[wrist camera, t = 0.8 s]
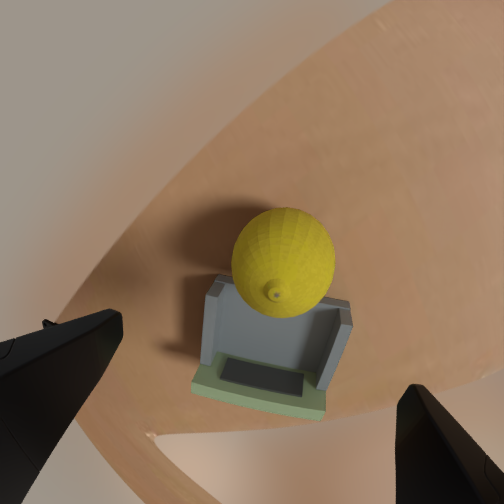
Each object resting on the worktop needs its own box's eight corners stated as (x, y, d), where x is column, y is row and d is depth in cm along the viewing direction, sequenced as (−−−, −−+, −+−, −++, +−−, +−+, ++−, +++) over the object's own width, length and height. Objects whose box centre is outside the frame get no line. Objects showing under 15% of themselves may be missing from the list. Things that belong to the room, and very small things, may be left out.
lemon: (287, 290, 22) (275, 364, 14) (231, 235, 21) (189, 288, 14) (347, 239, 20) (367, 298, 12) (289, 178, 19) (276, 203, 12)
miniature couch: (210, 352, 25) (191, 392, 21) (218, 274, 22) (195, 309, 18) (321, 376, 24) (320, 421, 20) (349, 301, 21) (356, 343, 17)
